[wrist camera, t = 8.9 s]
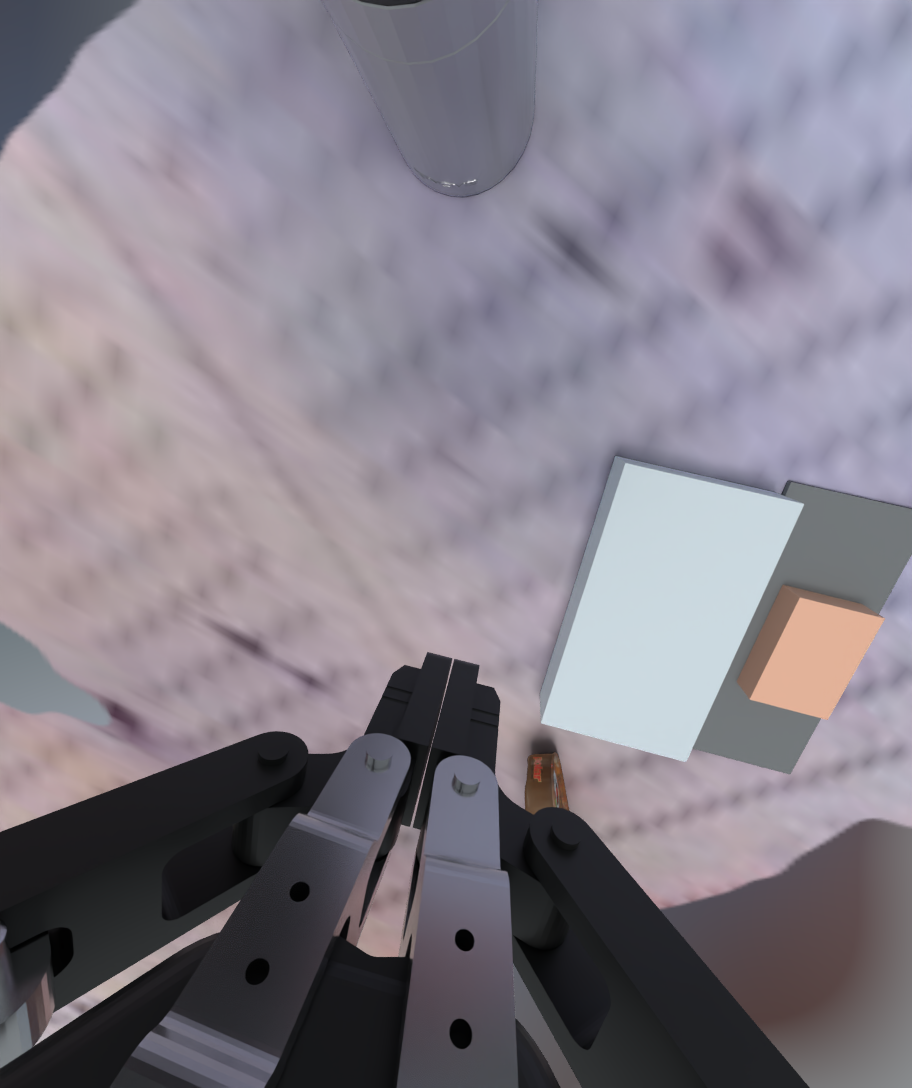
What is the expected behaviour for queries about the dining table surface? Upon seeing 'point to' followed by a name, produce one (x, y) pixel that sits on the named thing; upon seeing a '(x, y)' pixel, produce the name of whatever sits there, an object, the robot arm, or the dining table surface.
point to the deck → (661, 605)
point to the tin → (544, 783)
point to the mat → (822, 567)
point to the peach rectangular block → (808, 651)
